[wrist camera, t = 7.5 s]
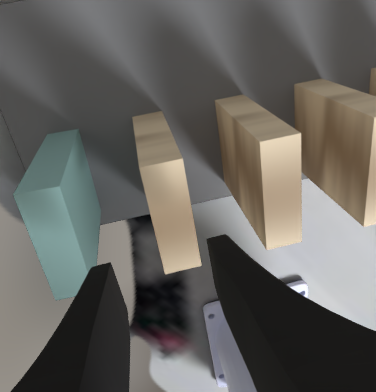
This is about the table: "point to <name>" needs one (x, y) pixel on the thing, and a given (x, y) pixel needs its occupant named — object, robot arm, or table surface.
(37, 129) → the domino mat
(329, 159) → the domino
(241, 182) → the domino
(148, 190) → the domino
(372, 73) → the domino
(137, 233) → the table surface
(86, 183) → the domino
